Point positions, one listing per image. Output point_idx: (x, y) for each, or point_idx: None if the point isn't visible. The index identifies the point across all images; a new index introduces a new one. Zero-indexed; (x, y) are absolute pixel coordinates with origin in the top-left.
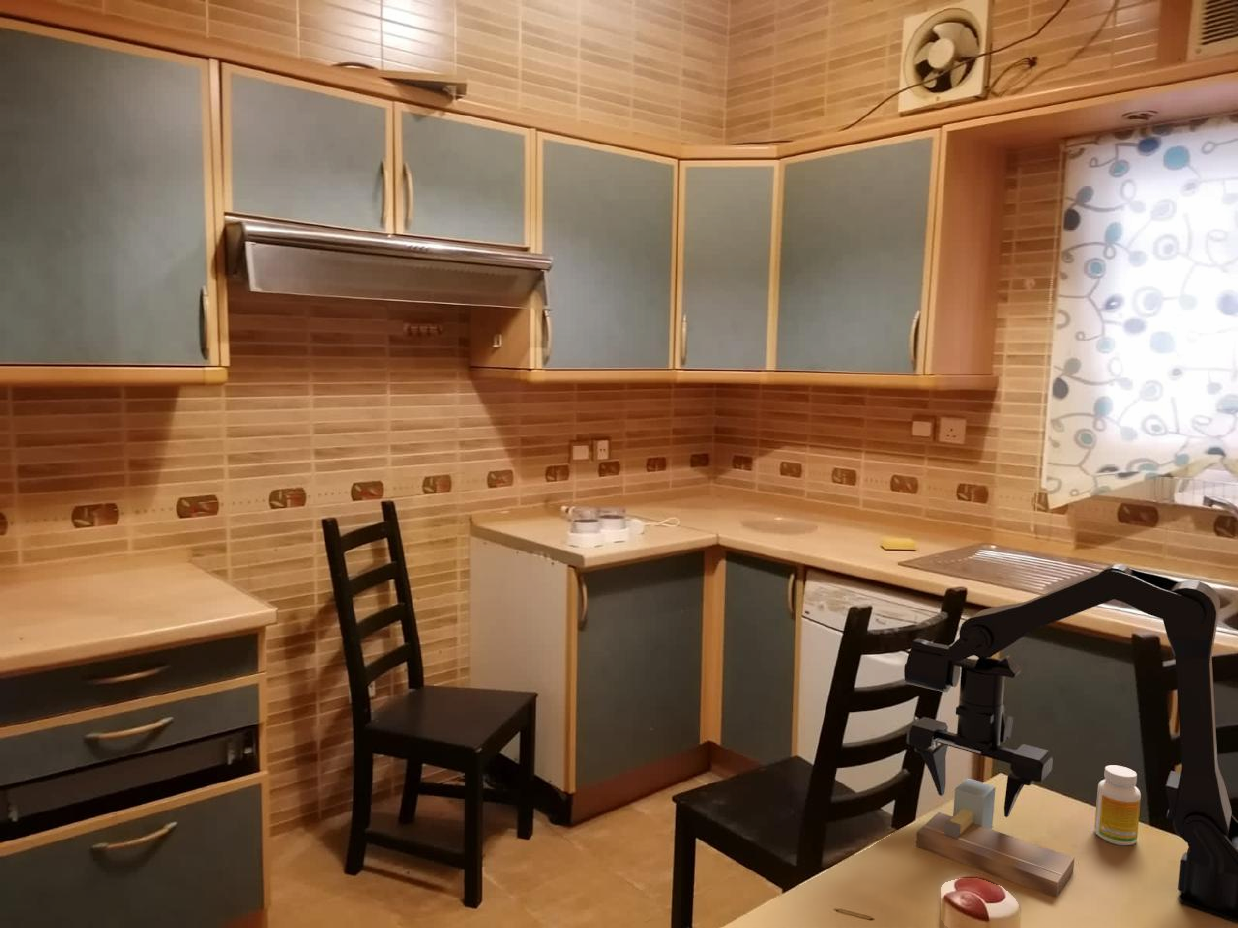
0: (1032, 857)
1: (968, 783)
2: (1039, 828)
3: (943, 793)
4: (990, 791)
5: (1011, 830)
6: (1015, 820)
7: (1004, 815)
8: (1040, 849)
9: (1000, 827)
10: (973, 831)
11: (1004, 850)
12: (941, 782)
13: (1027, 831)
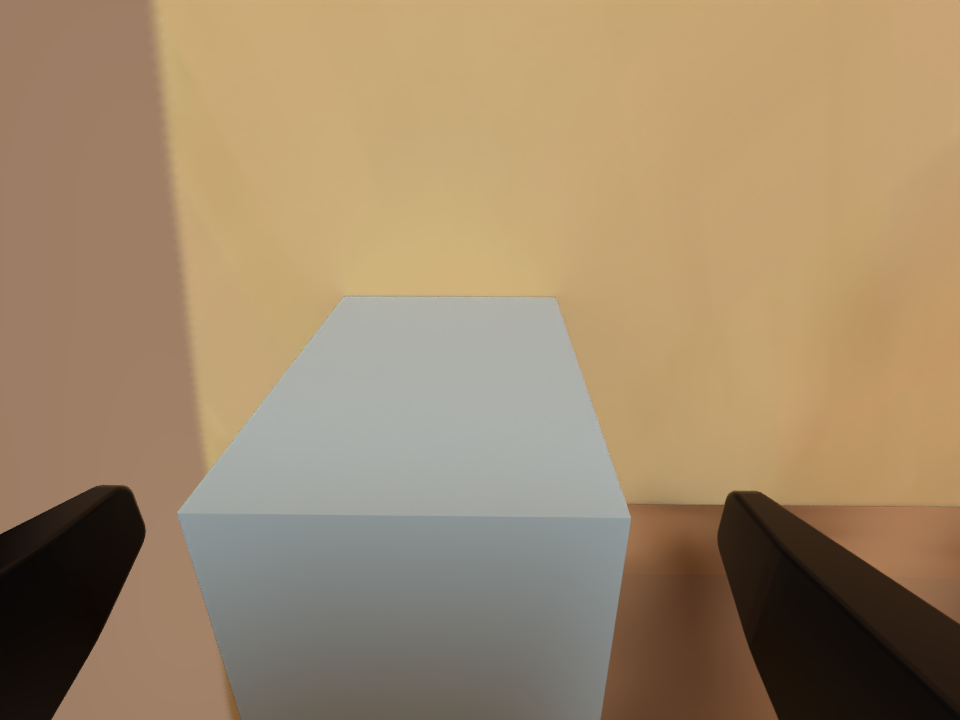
0: None
1: (293, 645)
2: (916, 26)
3: (129, 504)
4: (604, 677)
5: (689, 251)
6: (695, 23)
7: (721, 551)
8: (945, 609)
9: (607, 262)
10: None
11: (733, 714)
12: (47, 667)
13: (809, 175)
